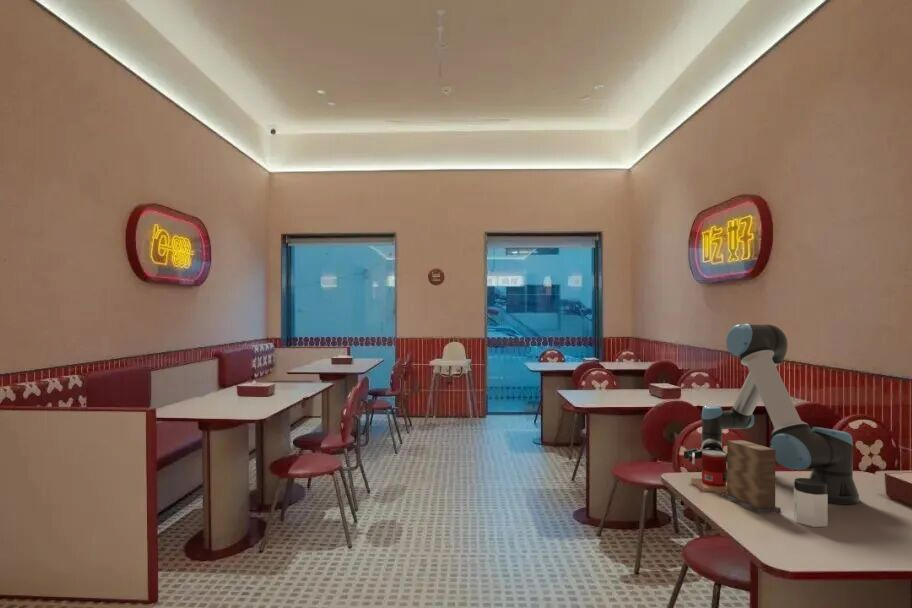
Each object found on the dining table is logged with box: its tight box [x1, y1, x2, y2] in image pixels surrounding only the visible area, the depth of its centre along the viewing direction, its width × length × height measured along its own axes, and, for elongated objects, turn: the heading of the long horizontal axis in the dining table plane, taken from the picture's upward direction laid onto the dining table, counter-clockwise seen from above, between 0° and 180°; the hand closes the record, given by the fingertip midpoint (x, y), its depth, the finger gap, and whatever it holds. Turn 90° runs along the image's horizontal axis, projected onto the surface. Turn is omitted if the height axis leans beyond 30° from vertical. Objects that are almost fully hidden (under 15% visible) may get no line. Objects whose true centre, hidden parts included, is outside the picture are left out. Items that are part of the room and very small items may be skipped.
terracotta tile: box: [690, 477, 727, 493], centre depth 200 cm, size 12×12×1 cm
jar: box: [793, 477, 829, 528], centre depth 166 cm, size 9×8×12 cm
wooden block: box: [722, 439, 781, 514], centre depth 182 cm, size 16×8×19 cm, turn 15°
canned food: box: [701, 450, 727, 486], centre depth 200 cm, size 8×8×11 cm
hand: (714, 462), depth 199 cm, fingers open, 13 cm apart
